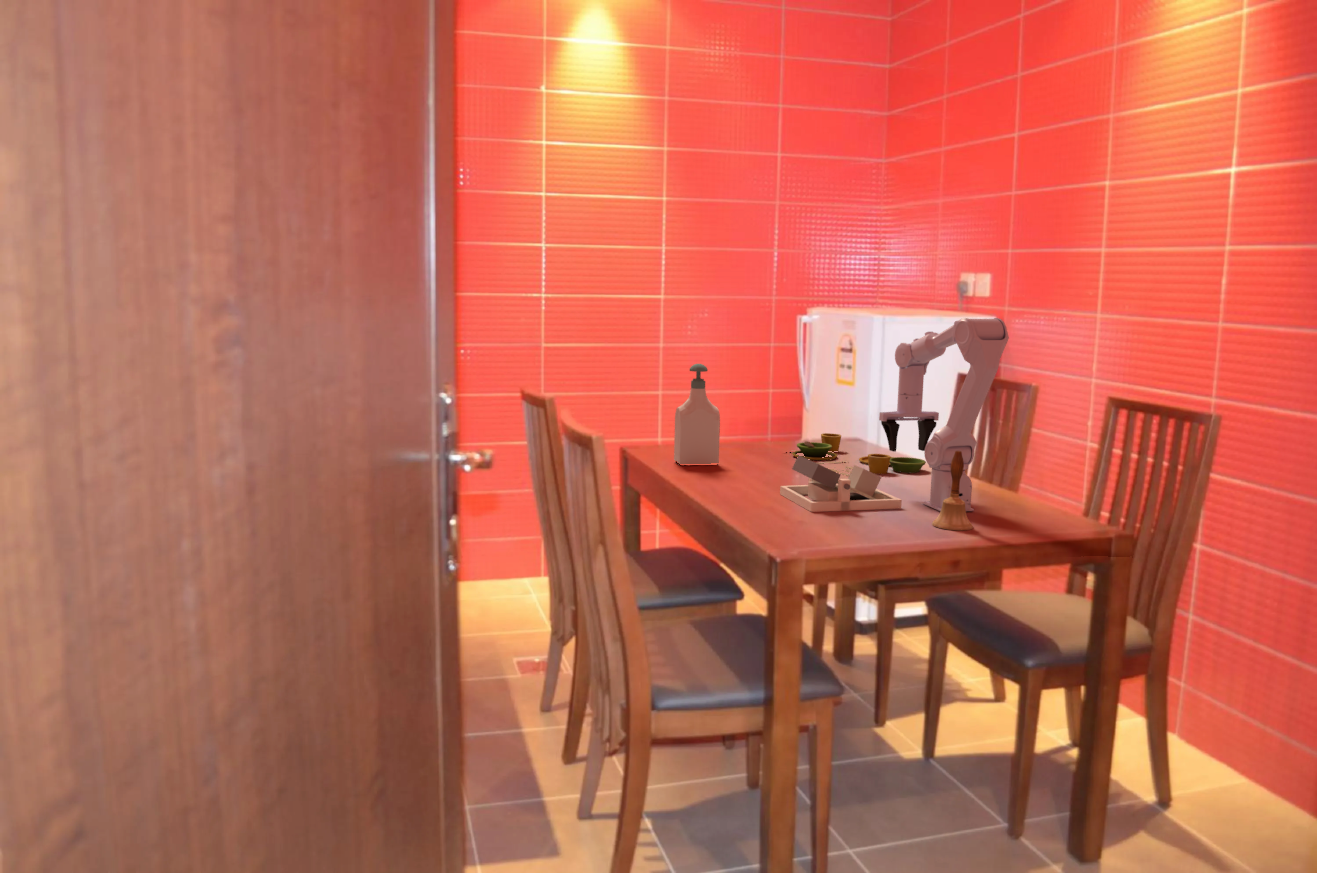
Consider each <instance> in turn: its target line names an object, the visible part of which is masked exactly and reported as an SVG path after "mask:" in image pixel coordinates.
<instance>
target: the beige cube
mask: <svg viewBox="0 0 1317 873" xmlns="http://www.w3.org/2000/svg"><path fill="white" fill-rule="evenodd" d="M852 467H853V469H852V470H850V471H851V473H849V474H850V475H849V476H847V479H849V480H851V484H850V487H852V488H854V489H856V490H858V491H861V492H863V493H865V494H867V495H869V496H871V497H872V496H873V494H874V492H875V490H876V489H878V488H877V487H878V485H879V483H880V481H881V479H882V476H880V475H879V474H874V473H872V472H869V470H868V469H865V468H864V467H861V466H858V465H856V464H854V465H853V466H852Z"/></svg>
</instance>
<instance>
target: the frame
mask: <svg viewBox="0 0 1317 873" xmlns="http://www.w3.org/2000/svg"><path fill="white" fill-rule="evenodd" d="M807 483H808V484H803V485H801V484H800V485H798V484H797V485H796V484H795V485H794V484H793V485H780V486H779V495H781V496H782V497H784V498H786V499H788V500H789V501H791V502H792V503H794V504H796V505H798V506H800V507H802V508H803V509H805V510H807V511H809V513H810V512H811V513H813V512H815V513H816V512H817V513H818V512H842V511H845V512H846V511H866V510H867V511H868V510H869V511H871V510H874V511H875V510H894V509H895V510H896V509H902V499H901V498H898V497H897V496H895V495H892V494H890V493H887V492H885V491H883V490H881V489H878V488H876V490H875V492H876V493H878V494H880V495H882V496H885V497H887V498H888V499H875V500H871V499H856V500H855V499H853V500H852V499H850V498H851V494H857V493H856V492H854V491H852V490H850V484H851V480H849V479H848V478H839V480H838V484H836V486H835V488H834V489H832V488H830V487H828V486H826V485H824V484H822V483H819V482H817V481H815V480H813V479H811V478H809V477H808V482H807ZM804 495H807V497H808V498H807V497H805V496H804ZM809 498H810V499H809ZM812 500H814V501H812Z"/></svg>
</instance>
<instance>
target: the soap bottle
mask: <svg viewBox="0 0 1317 873" xmlns="http://www.w3.org/2000/svg"><path fill="white" fill-rule="evenodd" d="M708 370H709V369H708V367H707V366H706V365H705V364H702V363H695V364H693V365H691V366H690V367H689V372H693V373H694V372H695V377H696V378H692V380H691V381H690V391H689V396H688V398H687V399H686V401H685V402H683V404H680V405H679V406H678V407H676V409H675V415H674V440H673V443H674V446H673V461H674V460H675V461H677V462H678V463H679V464H711V463H720V439H721V438H720V437H721V436H720V434H721V433H720V430H721V429H720V428H721V427H720V426H721V416H720V410H719V408H718V407H717V406H716V405H715V404H713V403H712V402H711V401H710V399H709V398H708V396H707V393H706V392H707V390H706V380H705V379H704V378H702V377H701V373H702V372H708ZM675 461H674V462H675ZM679 464H678V465H679Z"/></svg>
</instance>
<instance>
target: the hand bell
mask: <svg viewBox="0 0 1317 873" xmlns="http://www.w3.org/2000/svg"><path fill="white" fill-rule="evenodd" d="M963 468H964V461H963V457H962V451H955V454H954V456H953V459H952V462H951V476H952V487H951V494H950V497H949V498H947V499H945V500H944V501H943V505H942V509H941V511H939V514H938V516H937V517H936V518H935V519H933V521H932V523H931V525H932V526H934V527H935V528H937V529H938V528H939V529H942V530H949V531H970V530H973V529H974V527H973V524H972V523H971V522H970V520H969V519H968V516H967V511H966V509H965V502H964V501H963V500H961V499H960V498H959V486H960V479H961V476H962V473H963Z"/></svg>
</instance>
